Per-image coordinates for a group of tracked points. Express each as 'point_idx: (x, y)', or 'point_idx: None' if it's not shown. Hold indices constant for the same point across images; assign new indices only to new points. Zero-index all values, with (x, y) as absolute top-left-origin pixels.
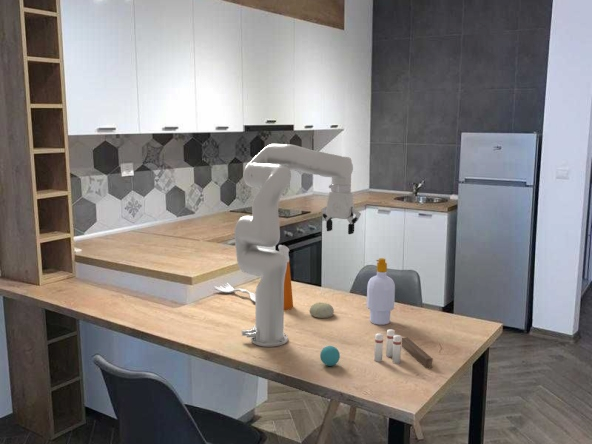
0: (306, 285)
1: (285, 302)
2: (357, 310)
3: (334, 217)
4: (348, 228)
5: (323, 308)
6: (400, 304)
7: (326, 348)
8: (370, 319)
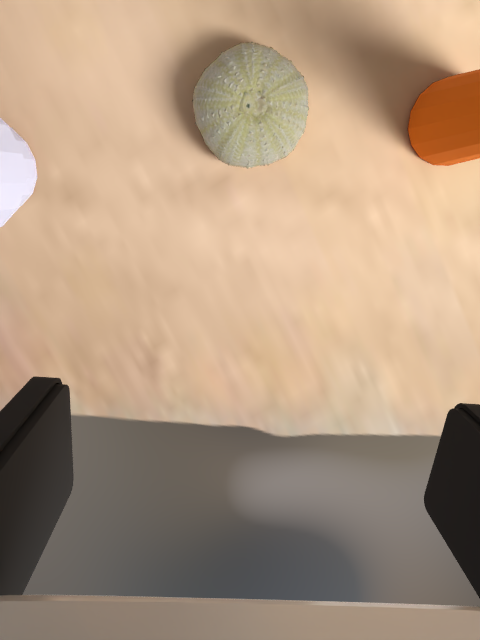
0: None
1: (446, 81)
2: (147, 257)
3: (464, 609)
4: (20, 436)
5: (226, 64)
6: None
7: None
8: (16, 134)
